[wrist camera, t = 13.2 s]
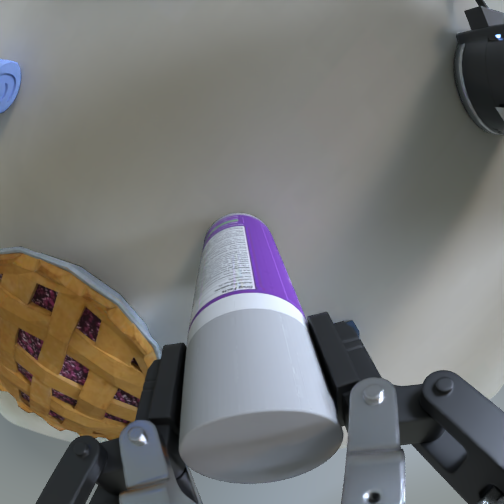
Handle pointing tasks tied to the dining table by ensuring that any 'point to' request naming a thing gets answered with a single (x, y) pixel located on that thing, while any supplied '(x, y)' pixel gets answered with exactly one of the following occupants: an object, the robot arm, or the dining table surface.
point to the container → (252, 366)
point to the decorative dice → (8, 83)
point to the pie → (70, 345)
